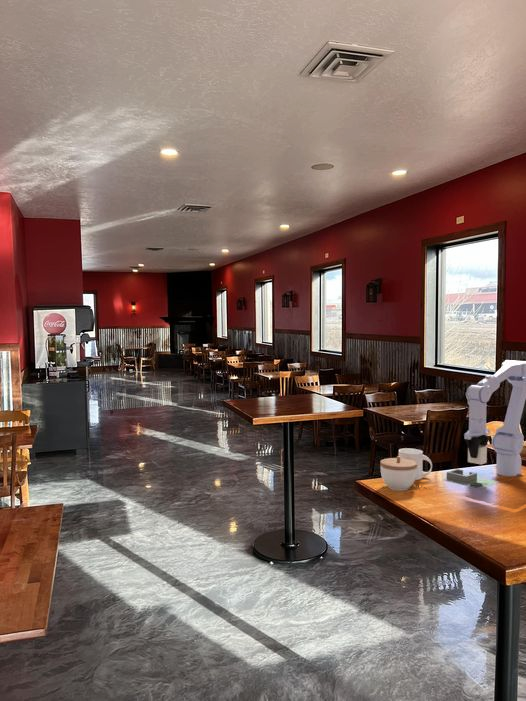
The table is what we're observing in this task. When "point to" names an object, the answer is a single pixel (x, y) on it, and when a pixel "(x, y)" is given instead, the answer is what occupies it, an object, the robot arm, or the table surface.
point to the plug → (479, 455)
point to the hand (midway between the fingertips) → (476, 456)
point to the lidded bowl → (398, 473)
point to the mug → (416, 460)
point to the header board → (468, 479)
